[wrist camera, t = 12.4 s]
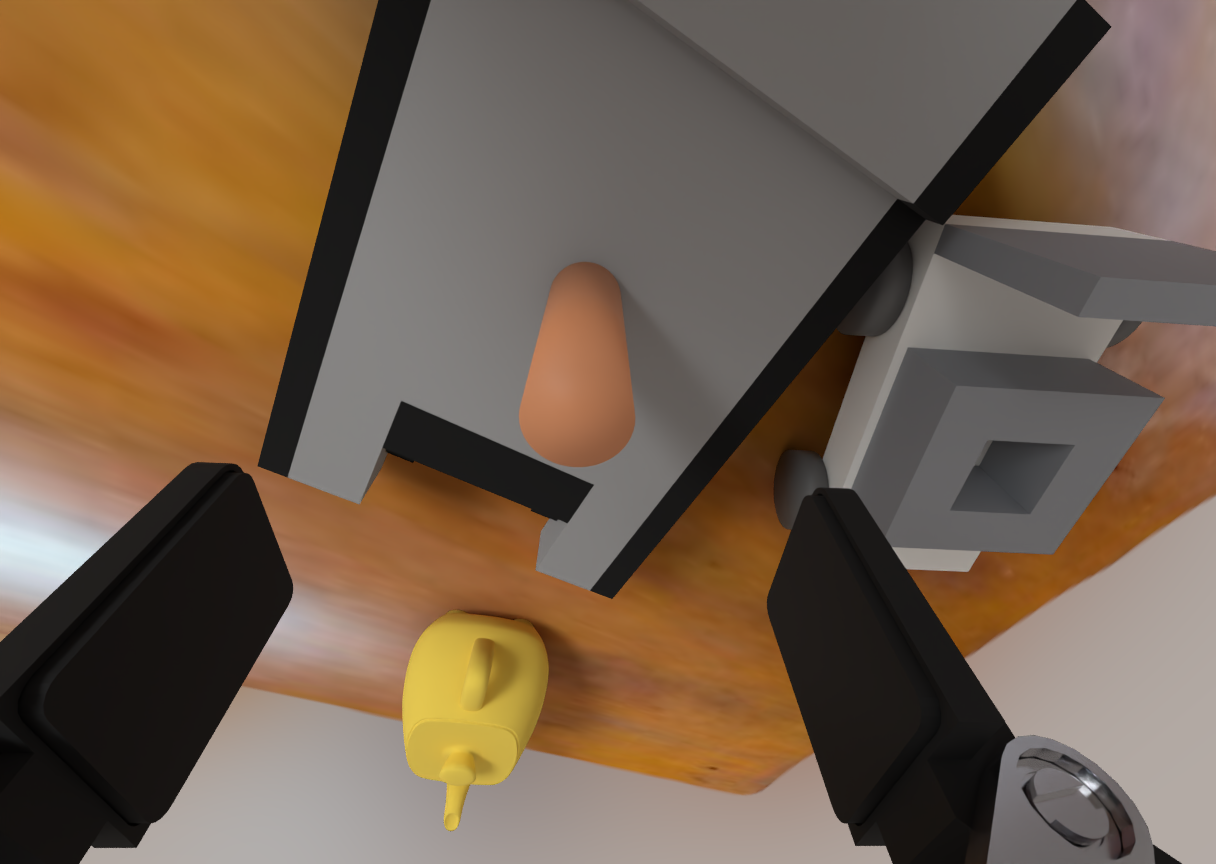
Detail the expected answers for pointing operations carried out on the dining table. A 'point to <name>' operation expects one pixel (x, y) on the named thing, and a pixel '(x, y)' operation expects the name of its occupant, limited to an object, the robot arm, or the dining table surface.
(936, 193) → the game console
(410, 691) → the teapot
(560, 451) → the pin
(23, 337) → the dining table surface
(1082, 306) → the ramp trolley
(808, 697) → the robot arm
